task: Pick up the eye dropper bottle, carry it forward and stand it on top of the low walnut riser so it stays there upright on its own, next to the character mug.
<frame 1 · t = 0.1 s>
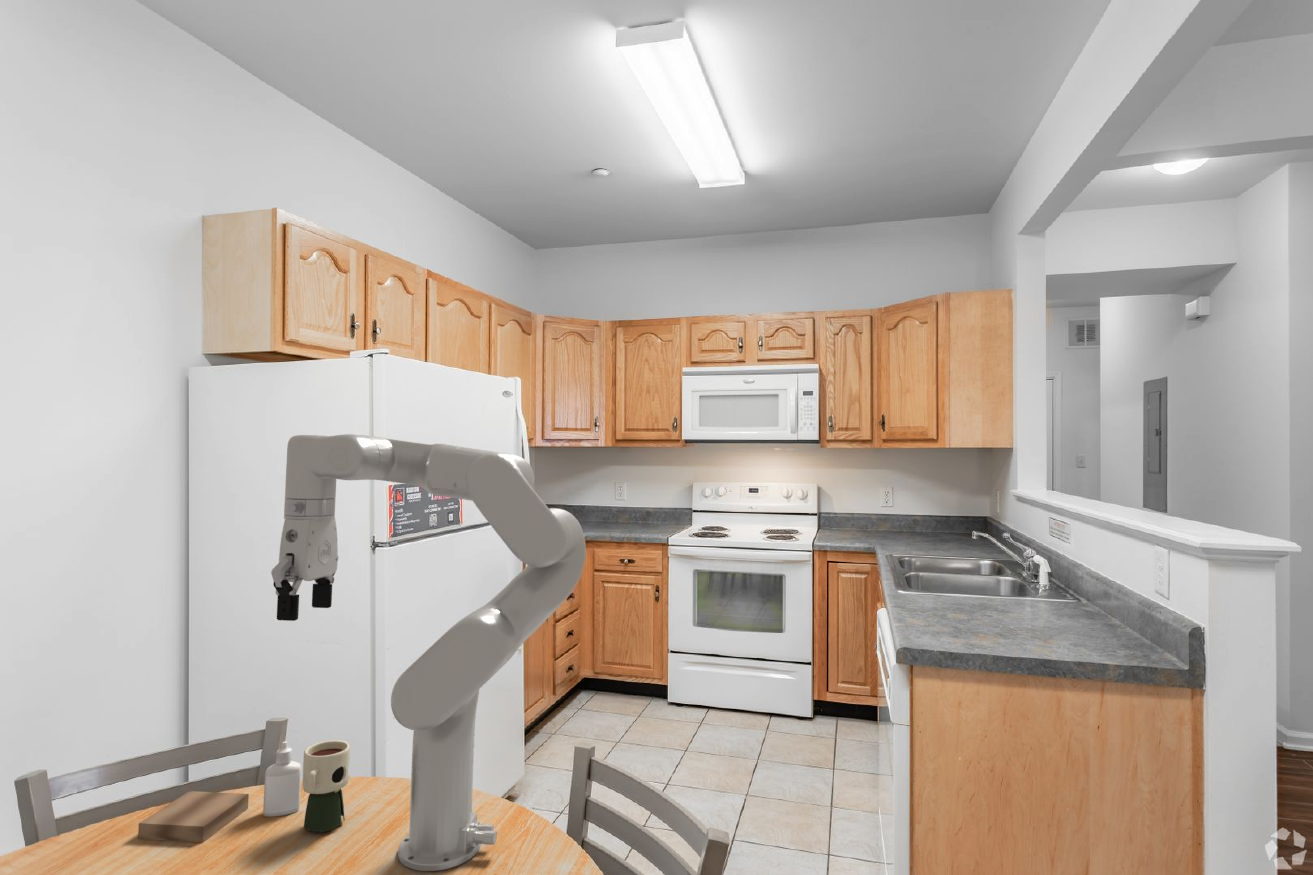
hand: (305, 613, 111), 37 cm above the table, tool pointing down, fingers open, 9 cm apart
walnut riser: (195, 822, 114), on the table
character mug: (324, 827, 114), on the table
eye dropper bottle: (281, 812, 119), on the table
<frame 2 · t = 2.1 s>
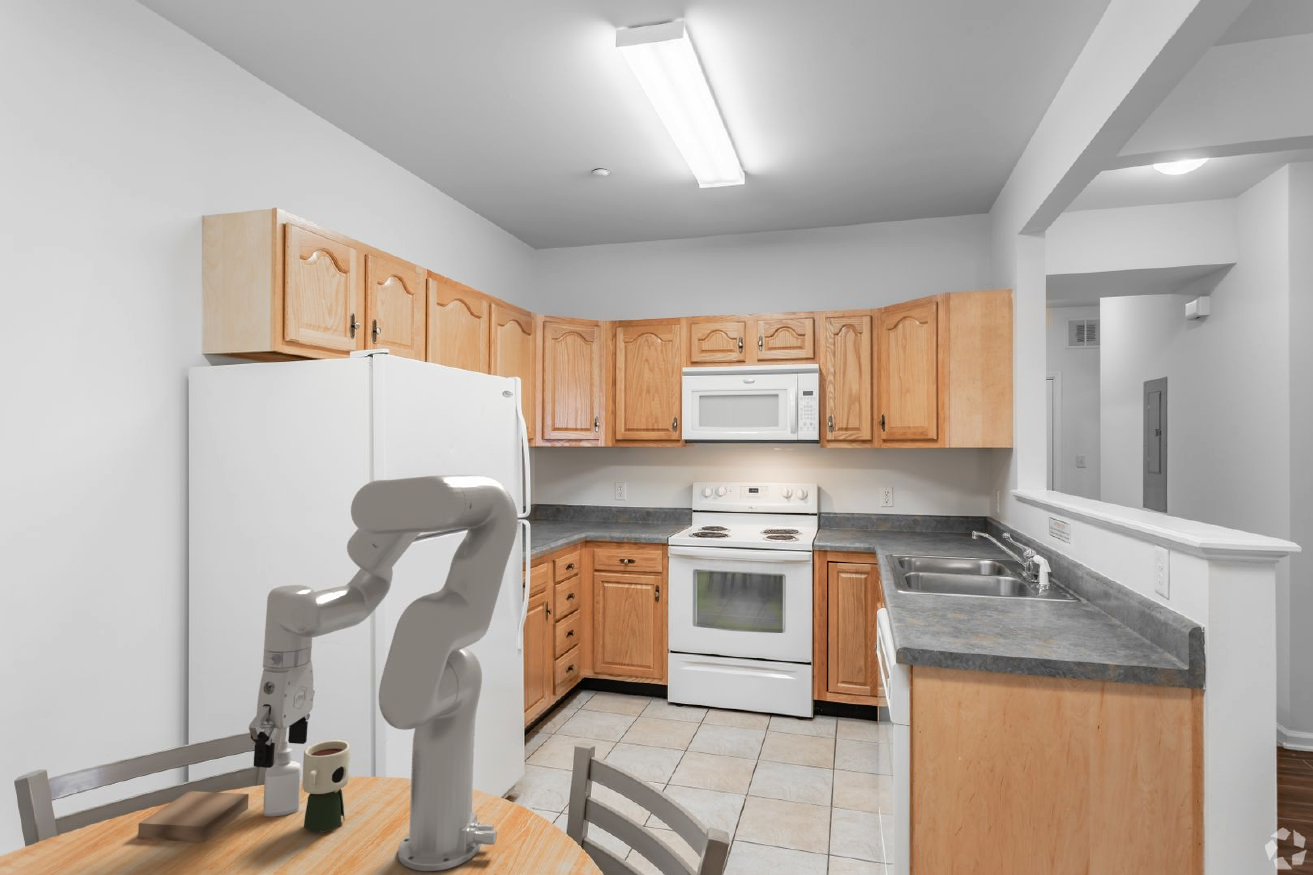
hand: (281, 754, 119), 10 cm above the table, tool pointing down, fingers open, 9 cm apart
nothing on the table moved.
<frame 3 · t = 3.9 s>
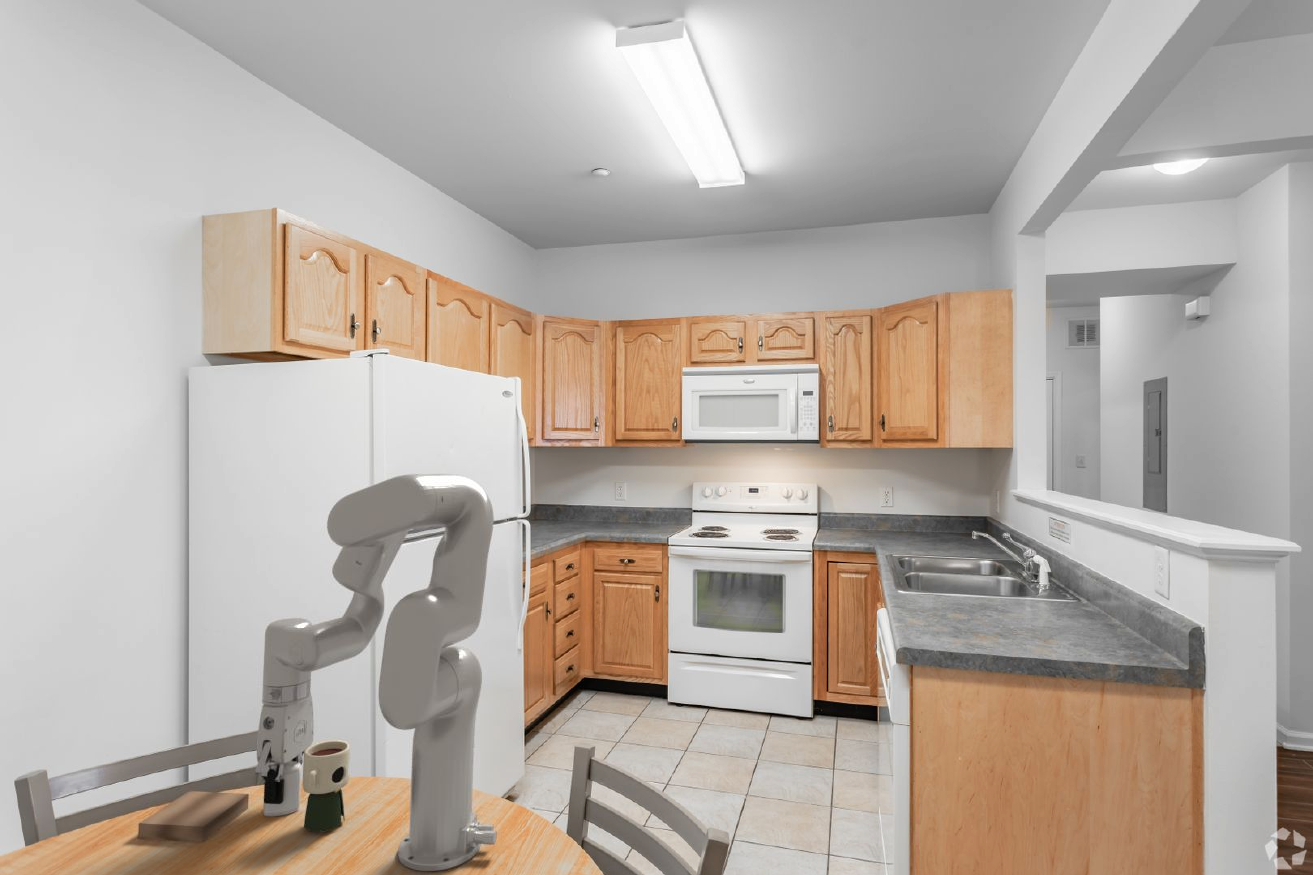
hand: (282, 794, 119), 3 cm above the table, tool pointing down, fingers closed on eye dropper bottle, 4 cm apart
eye dropper bottle: (281, 812, 119), on the table, touching gripper
everything else where it was.
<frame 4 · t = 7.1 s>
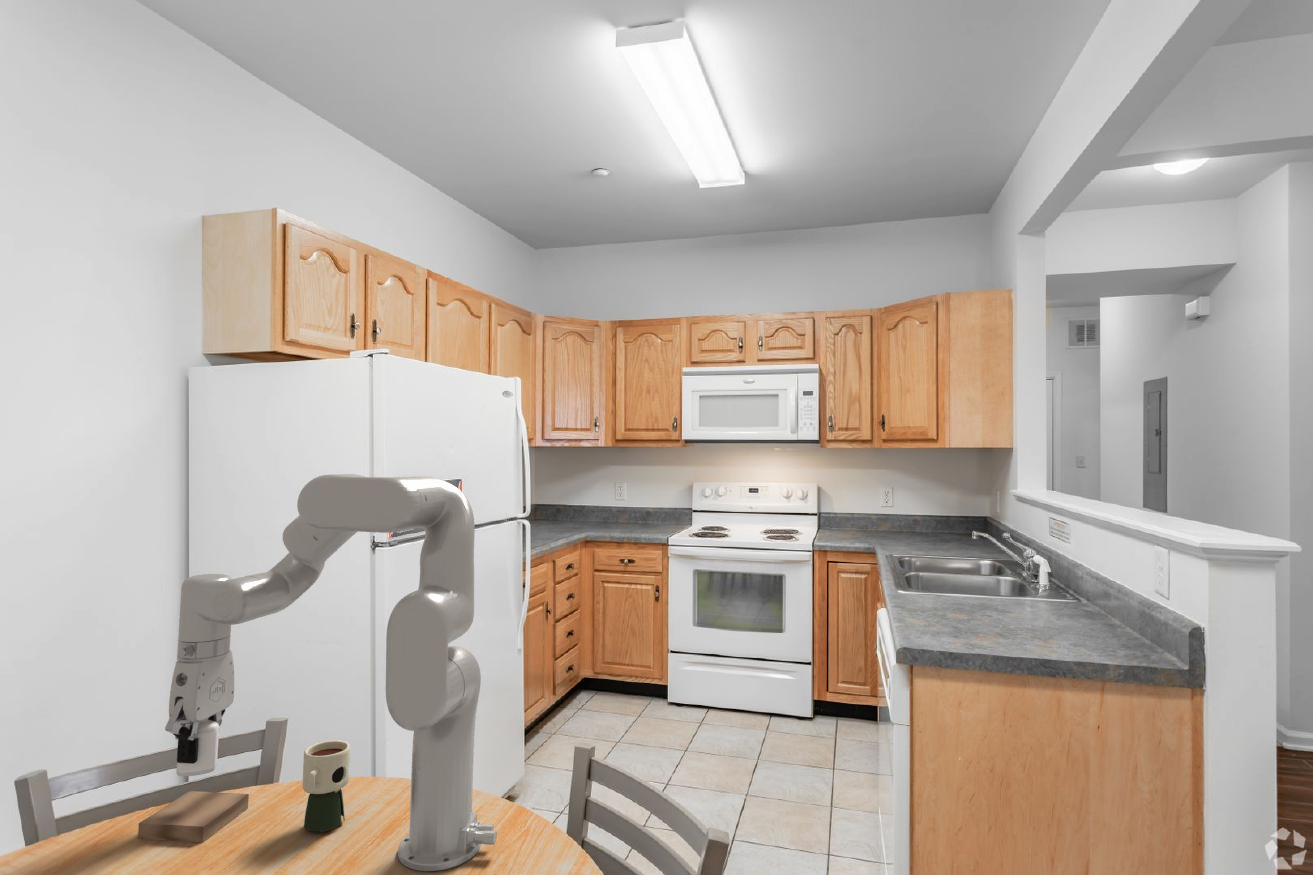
hand: (197, 755, 115), 11 cm above the table, tool pointing down, fingers closed on eye dropper bottle, 4 cm apart
eye dropper bottle: (196, 772, 115), point 8 cm above the table, touching gripper
everything else where it was.
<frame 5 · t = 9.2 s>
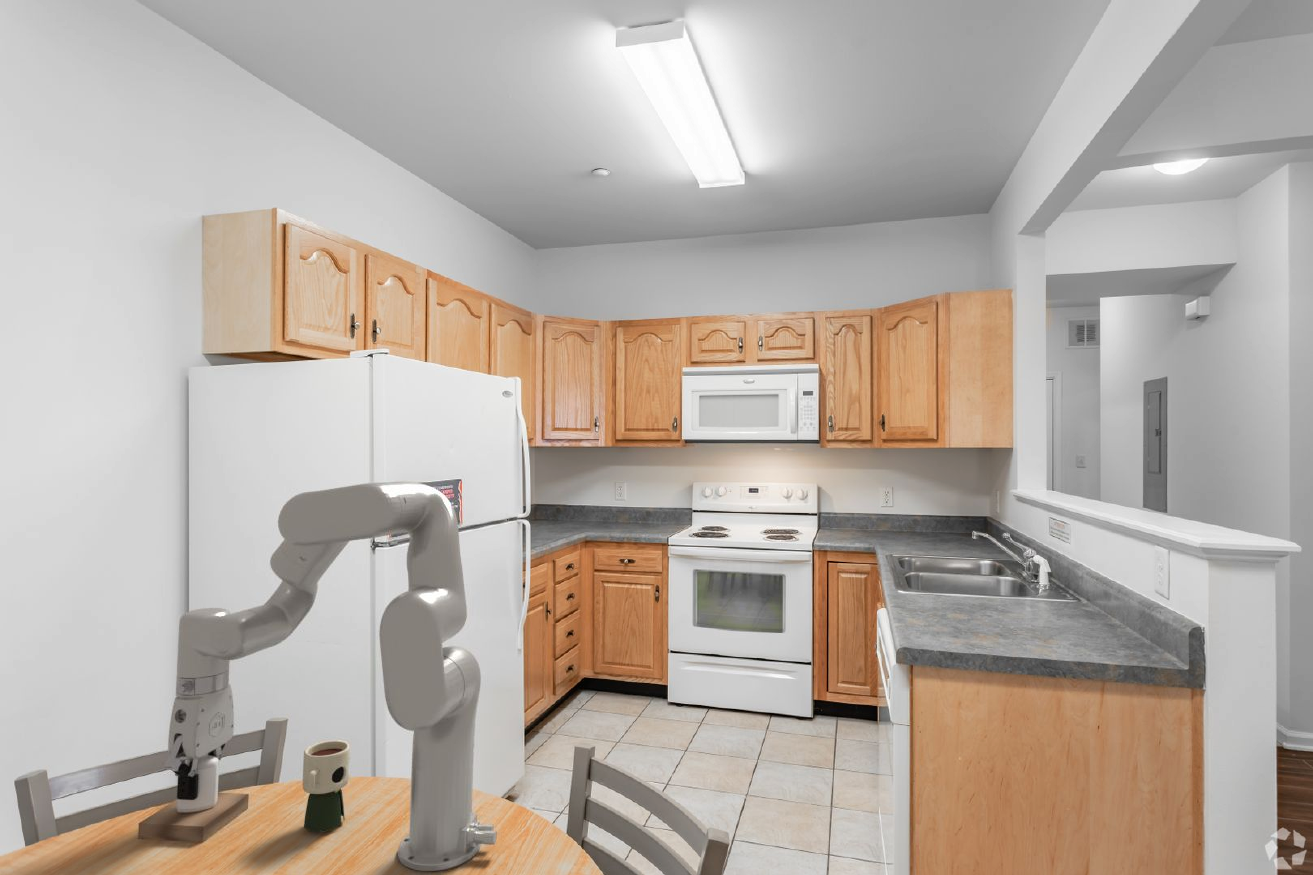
hand: (198, 790, 115), 5 cm above the table, tool pointing down, fingers closed on eye dropper bottle, 4 cm apart
eye dropper bottle: (197, 808, 115), point 2 cm above the table, touching gripper, walnut riser
everything else where it was.
when the fingers open (5 cm above the table, at t = 10.4 s): eye dropper bottle stays where it is, resting on walnut riser.
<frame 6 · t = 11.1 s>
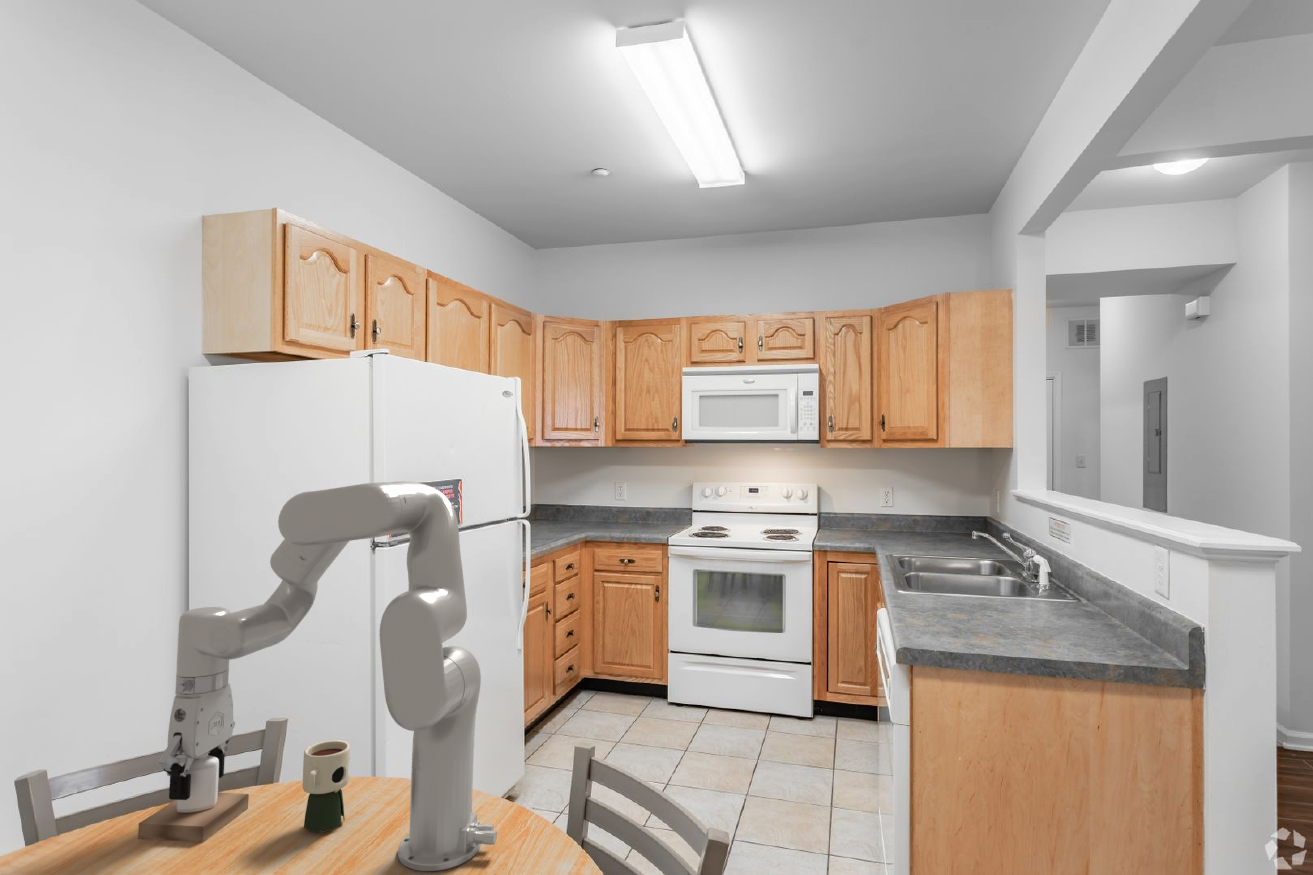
hand: (197, 786, 115), 6 cm above the table, tool pointing down, fingers open, 7 cm apart
eye dropper bottle: (197, 808, 115), point 2 cm above the table, touching walnut riser
everything else where it was.
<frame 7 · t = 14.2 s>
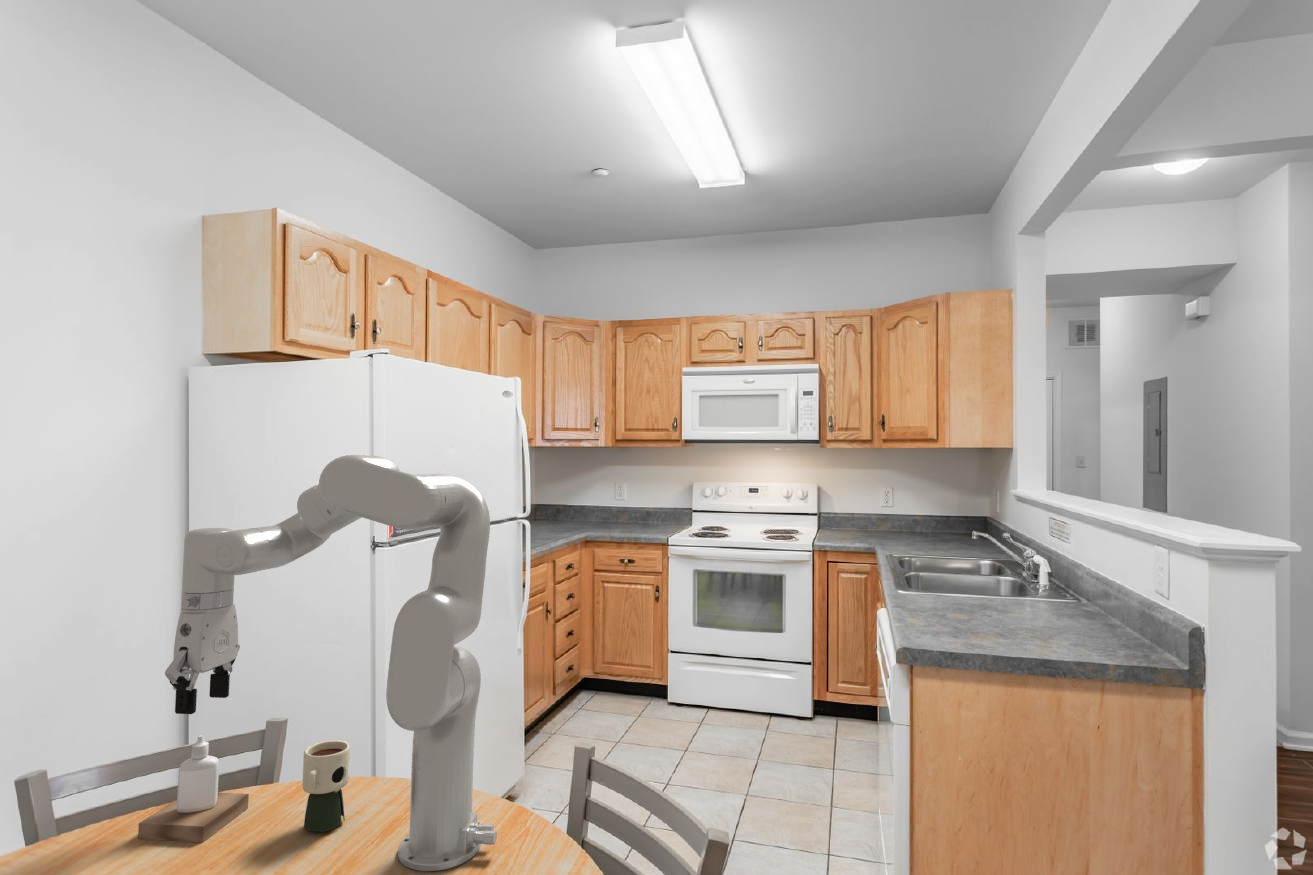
hand: (202, 704, 115), 20 cm above the table, tool pointing down, fingers open, 7 cm apart
nothing on the table moved.
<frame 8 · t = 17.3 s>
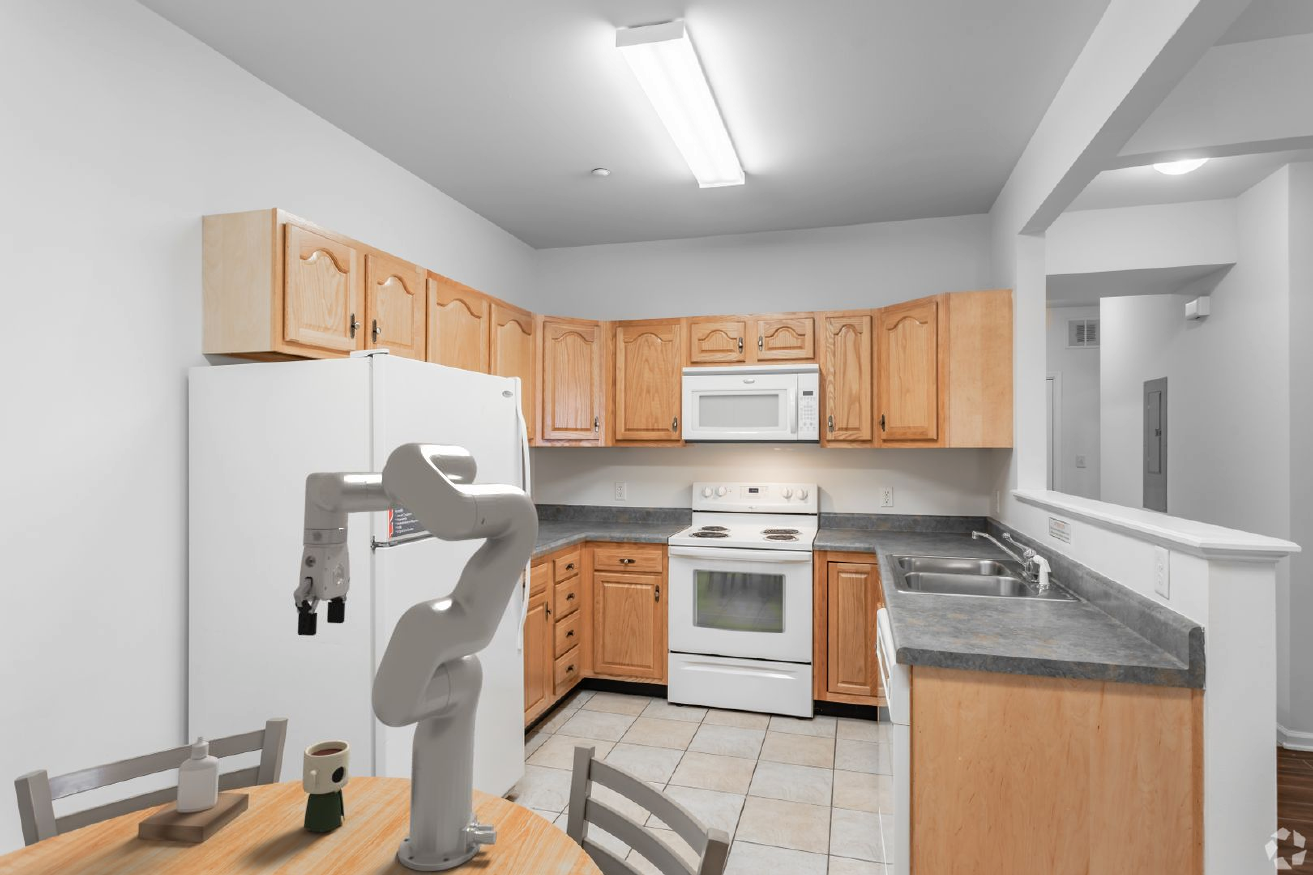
hand: (321, 628, 127), 30 cm above the table, tool pointing down, fingers open, 9 cm apart
nothing on the table moved.
at the end: eye dropper bottle inside the target area on the walnut riser (0.1 cm from its centre), point 2.3 cm above the walnut riser's base; eye dropper bottle tilted 0°; the gripper is holding nothing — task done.
